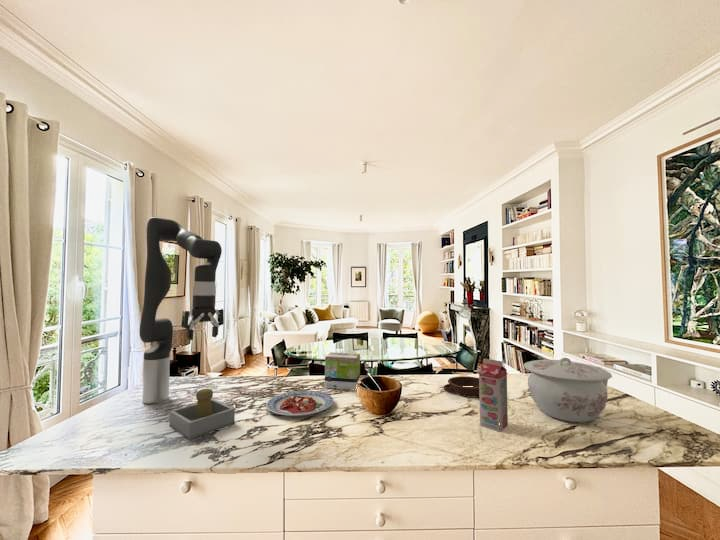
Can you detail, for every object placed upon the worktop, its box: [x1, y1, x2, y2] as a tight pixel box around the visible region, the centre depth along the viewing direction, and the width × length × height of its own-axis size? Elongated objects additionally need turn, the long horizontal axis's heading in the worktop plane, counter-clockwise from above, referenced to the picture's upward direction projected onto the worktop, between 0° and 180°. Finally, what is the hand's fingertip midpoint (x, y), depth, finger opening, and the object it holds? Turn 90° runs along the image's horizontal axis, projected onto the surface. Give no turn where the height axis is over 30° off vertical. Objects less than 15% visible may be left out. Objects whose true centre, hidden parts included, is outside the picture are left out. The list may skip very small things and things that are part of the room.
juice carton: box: [478, 357, 509, 433], centre depth 110 cm, size 7×7×22 cm
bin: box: [168, 398, 236, 440], centre depth 110 cm, size 15×15×5 cm
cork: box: [195, 388, 214, 420], centre depth 111 cm, size 6×6×11 cm
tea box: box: [324, 352, 361, 391], centre depth 152 cm, size 15×10×15 cm, turn 80°
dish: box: [443, 375, 479, 397], centre depth 143 cm, size 18×22×5 cm
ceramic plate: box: [265, 390, 334, 417], centre depth 127 cm, size 26×26×3 cm
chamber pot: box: [523, 357, 613, 423], centre depth 119 cm, size 28×28×21 cm
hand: (202, 338), depth 119 cm, fingers open, 8 cm apart
